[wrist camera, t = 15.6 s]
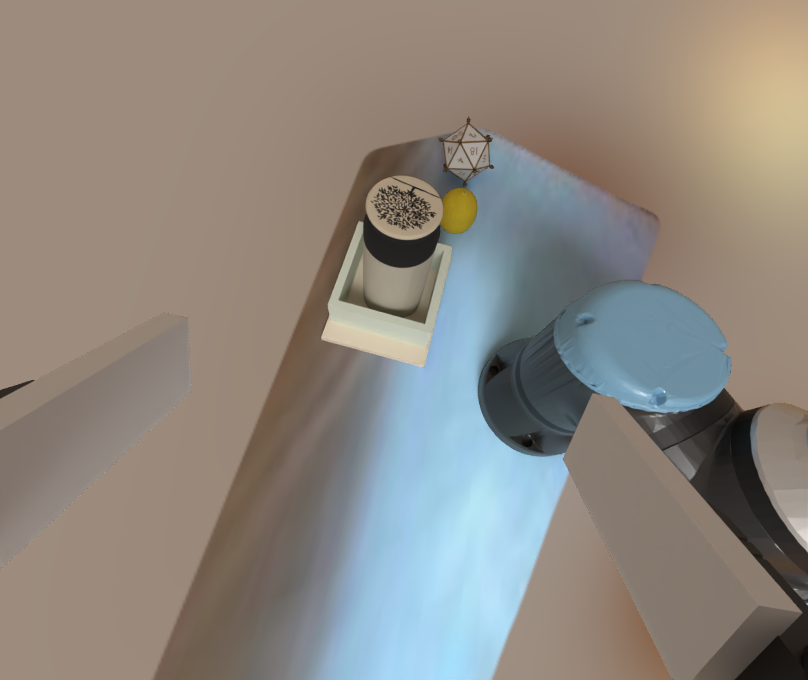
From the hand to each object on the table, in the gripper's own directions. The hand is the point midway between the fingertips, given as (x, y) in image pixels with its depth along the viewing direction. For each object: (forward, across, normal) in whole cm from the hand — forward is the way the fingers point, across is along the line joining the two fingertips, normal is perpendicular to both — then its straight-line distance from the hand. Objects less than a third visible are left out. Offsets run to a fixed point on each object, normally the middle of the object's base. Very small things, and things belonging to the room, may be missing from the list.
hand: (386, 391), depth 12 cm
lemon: (+51, +6, 0) cm, 51 cm away
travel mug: (+40, -1, -9) cm, 41 cm away
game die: (+59, +6, +8) cm, 60 cm away
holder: (+41, -2, -10) cm, 42 cm away
